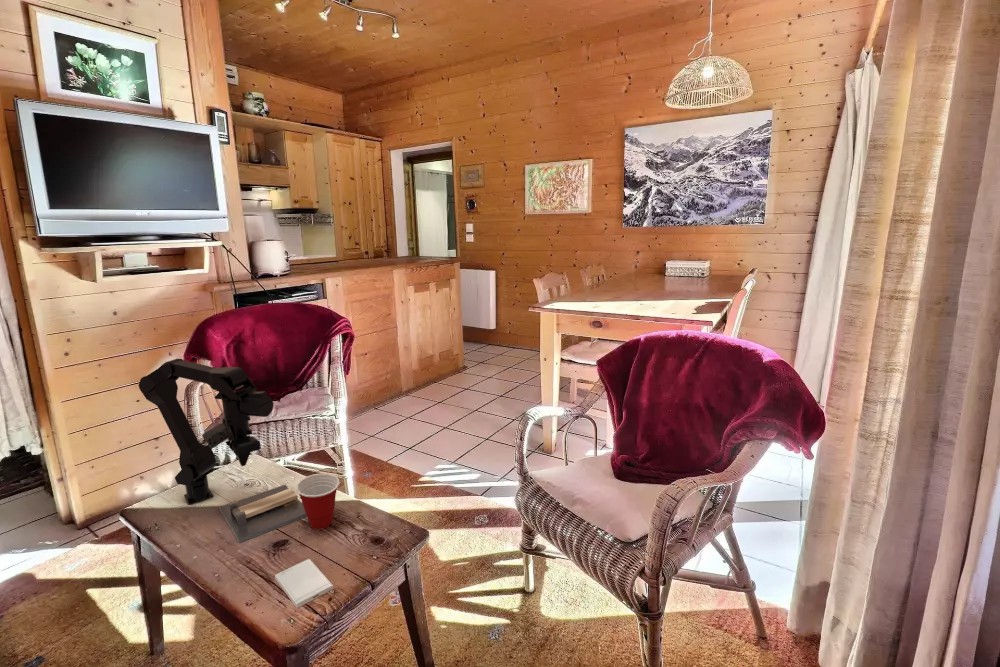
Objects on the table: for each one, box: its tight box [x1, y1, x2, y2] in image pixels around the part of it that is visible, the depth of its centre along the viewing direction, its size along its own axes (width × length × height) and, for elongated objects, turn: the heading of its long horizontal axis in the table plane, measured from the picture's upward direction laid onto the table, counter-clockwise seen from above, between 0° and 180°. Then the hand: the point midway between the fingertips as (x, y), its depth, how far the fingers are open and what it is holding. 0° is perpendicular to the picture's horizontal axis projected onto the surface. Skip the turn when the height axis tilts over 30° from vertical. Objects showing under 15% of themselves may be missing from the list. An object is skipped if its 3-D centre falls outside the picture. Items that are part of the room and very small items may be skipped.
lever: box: [232, 487, 299, 520], centre depth 140 cm, size 5×16×2 cm, turn 131°
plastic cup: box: [295, 472, 340, 530], centre depth 133 cm, size 11×11×12 cm
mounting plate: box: [219, 484, 307, 544], centre depth 139 cm, size 20×18×4 cm
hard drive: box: [274, 558, 335, 609], centre depth 112 cm, size 2×8×12 cm
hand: (243, 465), depth 142 cm, fingers closed
